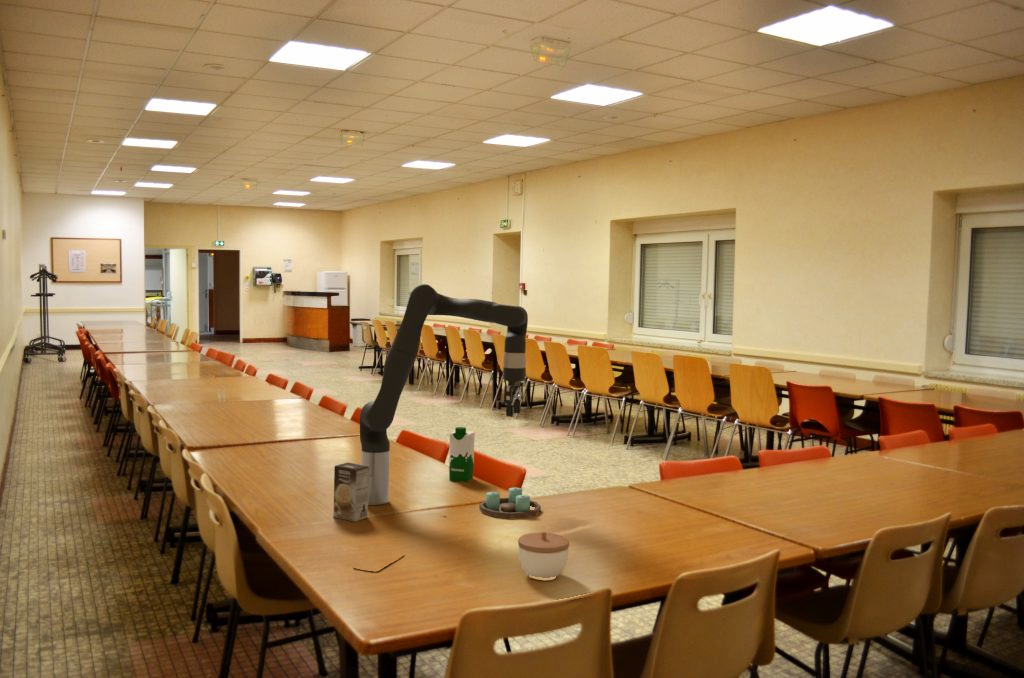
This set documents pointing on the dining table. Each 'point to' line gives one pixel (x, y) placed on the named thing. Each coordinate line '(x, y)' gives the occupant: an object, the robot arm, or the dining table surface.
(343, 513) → the coffee box
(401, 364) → the robot arm
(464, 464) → the milk carton
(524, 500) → the bead
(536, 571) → the lidded bowl
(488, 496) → the bead
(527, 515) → the ring tray
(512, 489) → the bead
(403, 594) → the dining table surface
